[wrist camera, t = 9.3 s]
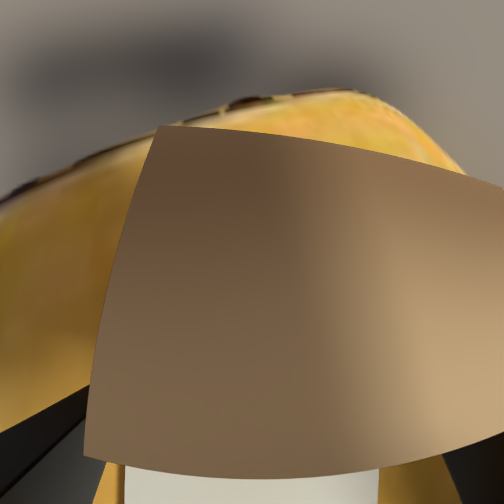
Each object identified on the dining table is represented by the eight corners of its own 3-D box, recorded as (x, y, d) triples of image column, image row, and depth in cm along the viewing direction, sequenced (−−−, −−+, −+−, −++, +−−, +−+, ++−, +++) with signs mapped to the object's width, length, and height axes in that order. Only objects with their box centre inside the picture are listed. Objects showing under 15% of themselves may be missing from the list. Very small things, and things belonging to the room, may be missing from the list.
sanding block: (329, 433, 12) (560, 402, 2) (186, 430, 11) (83, 455, 2) (327, 347, 14) (502, 187, 4) (194, 340, 13) (158, 125, 4)
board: (357, 588, 8) (365, 595, 7) (133, 591, 7) (129, 599, 6) (363, 312, 16) (371, 305, 15) (150, 297, 15) (146, 288, 14)
